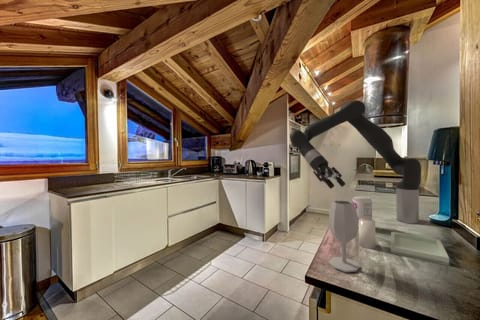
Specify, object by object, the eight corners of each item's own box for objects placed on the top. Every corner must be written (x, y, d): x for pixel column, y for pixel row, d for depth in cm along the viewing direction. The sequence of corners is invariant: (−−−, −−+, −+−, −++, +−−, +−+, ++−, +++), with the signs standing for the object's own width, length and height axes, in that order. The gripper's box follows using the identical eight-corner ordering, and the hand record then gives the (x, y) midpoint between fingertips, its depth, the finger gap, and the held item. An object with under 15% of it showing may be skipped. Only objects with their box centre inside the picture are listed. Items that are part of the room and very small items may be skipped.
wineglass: (346, 276, 61) (345, 206, 60) (323, 262, 69) (322, 200, 68) (365, 269, 64) (364, 203, 64) (342, 256, 72) (340, 198, 72)
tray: (391, 237, 87) (391, 231, 87) (439, 246, 78) (439, 239, 78) (390, 253, 74) (390, 246, 74) (449, 265, 65) (449, 258, 65)
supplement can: (354, 229, 97) (353, 198, 97) (351, 224, 105) (351, 195, 104) (374, 231, 94) (373, 199, 94) (370, 226, 102) (369, 196, 101)
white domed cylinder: (360, 241, 84) (359, 217, 84) (376, 244, 81) (375, 219, 81) (358, 246, 80) (357, 221, 80) (375, 250, 76) (374, 223, 76)
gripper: (310, 155, 93) (334, 182, 83) (329, 154, 101) (353, 179, 91) (301, 166, 98) (323, 193, 88) (320, 165, 105) (342, 189, 96)
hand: (338, 186), depth 90 cm, fingers open, 8 cm apart
